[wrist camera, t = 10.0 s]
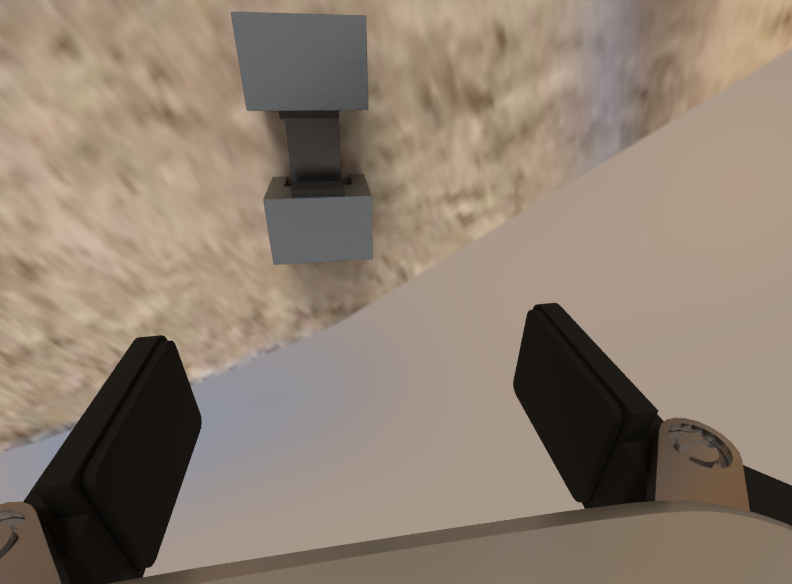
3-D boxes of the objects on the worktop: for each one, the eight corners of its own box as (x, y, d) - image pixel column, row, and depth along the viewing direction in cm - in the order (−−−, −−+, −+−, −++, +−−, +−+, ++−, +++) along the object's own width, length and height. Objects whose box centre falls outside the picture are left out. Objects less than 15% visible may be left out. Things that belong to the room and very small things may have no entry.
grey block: (363, 168, 27) (371, 188, 22) (365, 229, 29) (372, 259, 25) (271, 170, 26) (262, 192, 22) (280, 233, 28) (273, 264, 24)
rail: (357, 23, 23) (366, 15, 18) (364, 230, 29) (371, 259, 25) (248, 21, 22) (230, 11, 17) (279, 234, 28) (272, 265, 24)
